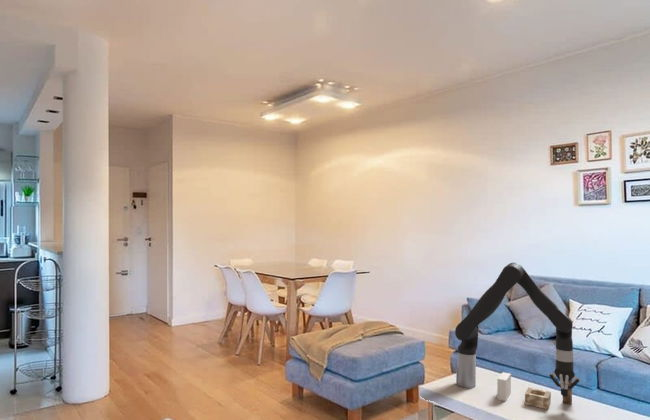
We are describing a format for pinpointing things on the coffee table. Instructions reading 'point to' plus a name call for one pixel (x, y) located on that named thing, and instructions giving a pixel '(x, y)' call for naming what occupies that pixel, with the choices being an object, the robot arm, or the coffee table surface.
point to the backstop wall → (504, 386)
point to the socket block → (537, 398)
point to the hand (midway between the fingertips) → (564, 396)
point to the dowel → (568, 398)
